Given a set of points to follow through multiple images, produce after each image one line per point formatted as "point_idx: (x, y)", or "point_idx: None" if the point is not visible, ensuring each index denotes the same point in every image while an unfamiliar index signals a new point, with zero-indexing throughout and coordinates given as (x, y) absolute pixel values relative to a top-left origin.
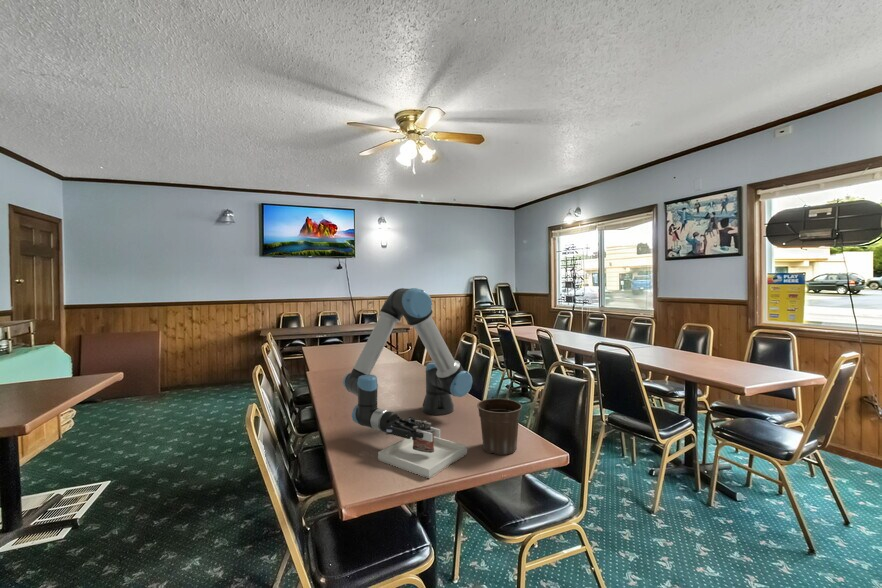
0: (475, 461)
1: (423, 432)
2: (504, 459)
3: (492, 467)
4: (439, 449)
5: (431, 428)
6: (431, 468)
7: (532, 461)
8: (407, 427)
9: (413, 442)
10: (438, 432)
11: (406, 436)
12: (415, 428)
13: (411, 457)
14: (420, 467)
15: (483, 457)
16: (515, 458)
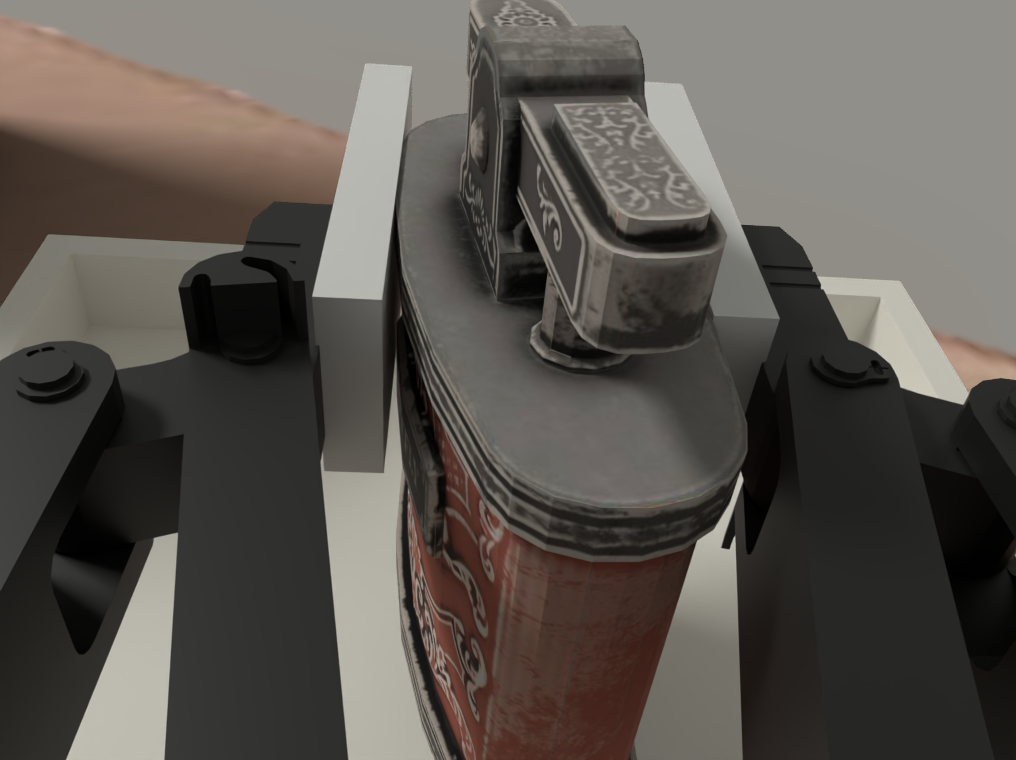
0: (231, 233)
1: (718, 195)
2: (74, 118)
3: (280, 138)
4: (134, 591)
5: (416, 161)
6: (858, 279)
7: (38, 28)
8: (889, 630)
9: (636, 731)
10: (411, 124)
11: (1001, 601)
12: (720, 380)
13: None
14: (946, 371)
15: (100, 214)
16: (20, 83)
